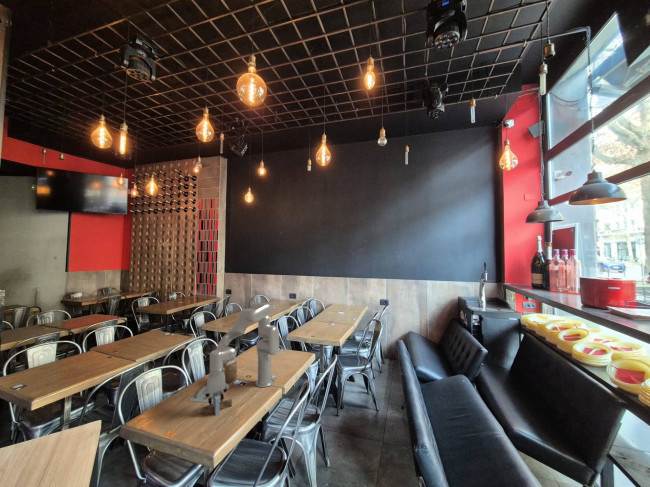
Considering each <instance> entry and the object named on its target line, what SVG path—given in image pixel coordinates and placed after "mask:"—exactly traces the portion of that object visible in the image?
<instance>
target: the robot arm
mask: <svg viewBox="0 0 650 487" xmlns="http://www.w3.org/2000/svg"><path fill="white" fill-rule="evenodd" d="M272 310H273V309H272V306H271V304H269V303H265V302H256V301H255V302H252V303H251V304H250V308H243V309H242V310H241V311H240V313H239V315H238V317H237V318H236V320H235V322H234V324H233V326H232V328H231V329H230V330H229V331H228V332H226V334H224V335H223V336H222V338H221V339H220V340H219V342H218V344H217V347H216V348H215V350H211V352H210V354H209V374H208V375H207V380H206V386H205V387H206V389H205V390H204V391H203V392H202V393H203V395H205V396H206V397H208V403H207V404H209V405H212V404H213V397H211V395H212V393H214V392H217V393H218V392H220V402H223V401H224V398H225V397H224V396H225V393H226V392H227V391H228V390H229V389H230V384H227V383H225V375H224V372H223V371H224V370H226V369H225V368H223V362H224V361H229V360H232V359H235V358H236V356H237V350H236V349H235V348H233V347H230V346H229V345H230V343H231V342H232V341H233V340H234V339H235V338H238V337H242V336H243V335H244V334H245V332H246V330H247V328H248V326H249V325H250V323H251V324H253V323H258V324H257V325H258V326H257V328H258V329H257V330H258V332H257V333H258V336H259V337H260V338H261V339H259V340H258V341H257V343H256V353H257V380H256V381H255V385H256V387H259V388H267V387H270V386H272V385H273V384H274V379H278V375H275V374H273V375H272V356H276V355H277V354H278V352H279V350H280V330H279V328H278V327H277V326H275V325H271V317H270V314H271V313H272ZM206 391H208V393H209V394H208V393H206ZM212 396H213V395H212Z"/></svg>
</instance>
